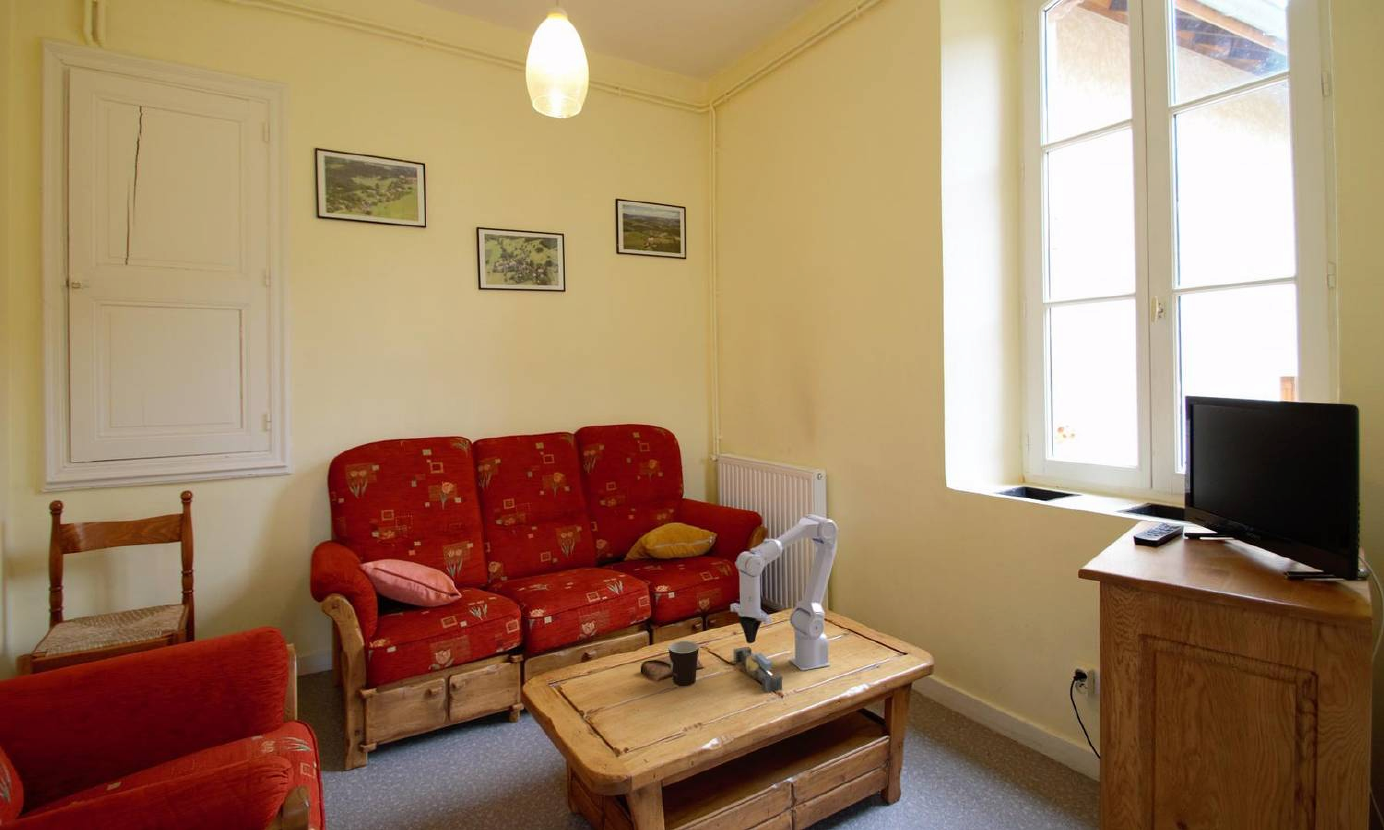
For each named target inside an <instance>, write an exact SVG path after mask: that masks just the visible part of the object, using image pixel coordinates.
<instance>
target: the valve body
mask: <svg viewBox="0 0 1384 830" xmlns="http://www.w3.org/2000/svg"><path fill="white" fill-rule="evenodd" d="M751 654H752V648H751V647H749V646H746V647H739V648H733V662H734V663H735V664H742V665H744V667H745V671H746V674H745V675H746V677H748V678H749V679H753V680H759V681H760V683H762V685H761V687H762V689H761V690H762V691H763V692H764V693H767V694H768V693H774V692H776V691H777V692H778V691H783V676H782V675H780V674H779V673H775V674H773V673H772V672H771V671H770V670H765V669H764V668H763V667H762V666H761V665H760V664H759V663H758V662H757V661H755V660H752V659H751Z"/></svg>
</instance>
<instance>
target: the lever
mask: <svg viewBox="0 0 1384 830" xmlns="http://www.w3.org/2000/svg"><path fill="white" fill-rule="evenodd" d="M751 659H752V660H755V661H757V662H758V663H759V664H760V665H761V666H762V667H763V668H764V669H765V670H768V671H770V670H772V668H773V667H772V665H773V664H772V662H771V661H770V660H769V659H768V658H767V657H766V656H764V654H763V653H761V652H751Z"/></svg>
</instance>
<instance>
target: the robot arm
mask: <svg viewBox="0 0 1384 830" xmlns="http://www.w3.org/2000/svg"><path fill="white" fill-rule="evenodd" d="M839 531H840V528H838V525H837V524H836V522H835V521H834V520H832V519H830V518H825V517H822V516H819V515H816V514H813V513H809V514H807V515H805V516H804V517H802V518H799V520H798V523H797V524H795V525H793V526H792V527H791V528H789V529H788V530H787V531H785V532H784V533H782V534H781V535H780V536H778V537H776V539H775V538H765V539H763V542H762V543H760V544H758V545H757V546H755V547H752V548H750V550H749V551H743V552H741V553H739V555H737V558H736V561H735V562H734V566H735V567H736V569H737V570H738V576H739V603H735V602H734V603H731V604H730V612H733V613H734V612H735V613H738V614H737V615H738V616H739V617H738V618H737V619H738V620H737V621H738V622H739V623H740V626H741V627H742V630H743V634H744V636H745V641H746V643H748V644H752V643H755V641H756V638H757V634H758V630H759V628H760V626H761V624H762V623H763V624H764V625H766V626H767V625H769V624H772V615H769V614H767V613H766V612H765V611H763V609H761V581H760V580H761V579H760V578H761V577H760V576H761V574H762V573H763V570H764V568H765V567H766V566H767V565H768V564H770V563H772V562H773V561H774V560H776V559H777V558H779V557H781V556H782V553H783V550H784V549H786V548H789V546H792V545H793V544H796V543H797V542H799V541H801V540H802V539H805V538H806V539H811V540H812V541H813V543H814V545H815V547H816V549H817V550H816V552H815V556H814V559H813V564H812V567H811V569H810V570H811V571H810V574H809V576H808V577H809V578H808V581H807V584H806V586H805V587H806V588H805V592H804V595H803V599H801V600H799V601H798V602H796V604H795V607H794V609H793V610H792V612H791V613H790V617H789V623H790V625H791V627H793V632H794V657H791V658H789V659H788V660H789V661H790V662H791V663H792V664H793V665H795V667H797V668H799V670H800V671H808V670H812V669H818V668H825V667H829V666H830V665H831V664H830V663H829V639H828V637H827V635H826V634H825V633H824V630H825V617H826V613H825V611H824V608H823V606H822V603H823V600H824V596H825V592H826V589H827V586H828V583H829V579H830V575H831V571H832V567H833V564H834V560H835V557H836V555H837V552H838V551H837V550H838V534H839Z"/></svg>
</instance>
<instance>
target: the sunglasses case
mask: <svg viewBox="0 0 1384 830" xmlns="http://www.w3.org/2000/svg"><path fill="white" fill-rule="evenodd" d="M705 668H706V666H703V664H702V663H701V662H700V660H699V659H698V661H697V671H698V670H703V669H705ZM640 674H641V675H643V676H644V677H646V678H648V679H649V680H651V681H652V682H654V683H659V682H661V681H663V680H664V681H665V680H667V679H669V678H672V671H671V663H670V656H669V655H666V656H663V657H660V658H656V659H651V660H646V661H644V662H642V663H641V665H640Z"/></svg>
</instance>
